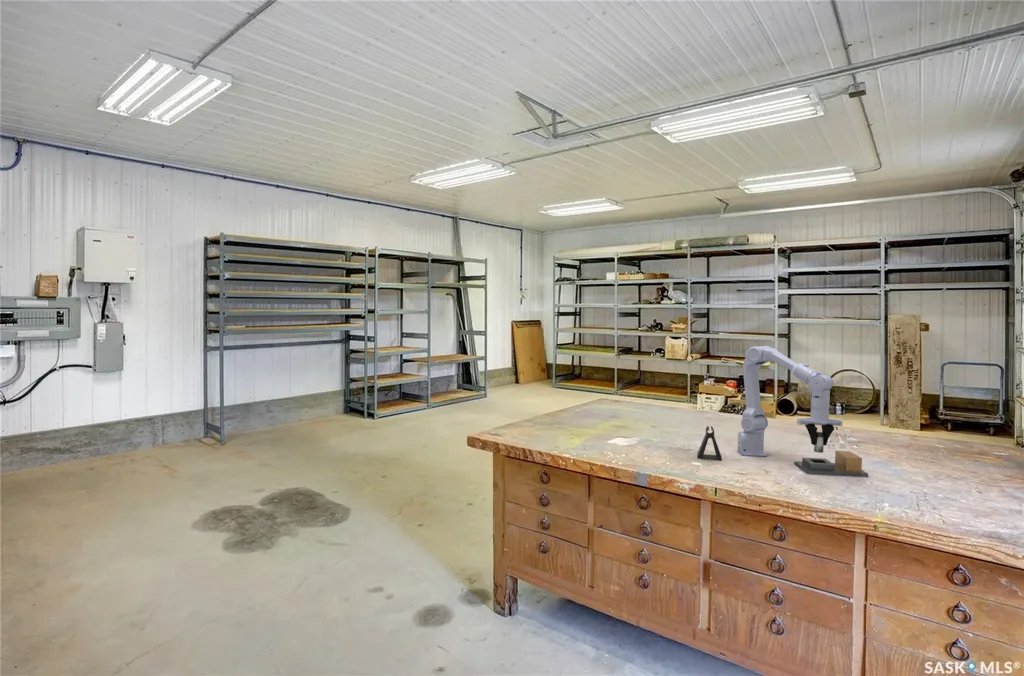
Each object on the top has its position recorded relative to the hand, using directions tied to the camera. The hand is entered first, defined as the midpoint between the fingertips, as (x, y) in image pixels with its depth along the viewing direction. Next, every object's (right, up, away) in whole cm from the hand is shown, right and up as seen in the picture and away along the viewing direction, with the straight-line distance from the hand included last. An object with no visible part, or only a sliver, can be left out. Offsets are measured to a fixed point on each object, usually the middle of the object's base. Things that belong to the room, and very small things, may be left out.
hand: (818, 444), depth 191 cm
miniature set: (+35, -8, +44) cm, 56 cm away
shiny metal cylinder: (0, -3, 0) cm, 3 cm away
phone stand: (-34, -9, +16) cm, 39 cm away
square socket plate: (+4, -9, 0) cm, 10 cm away
